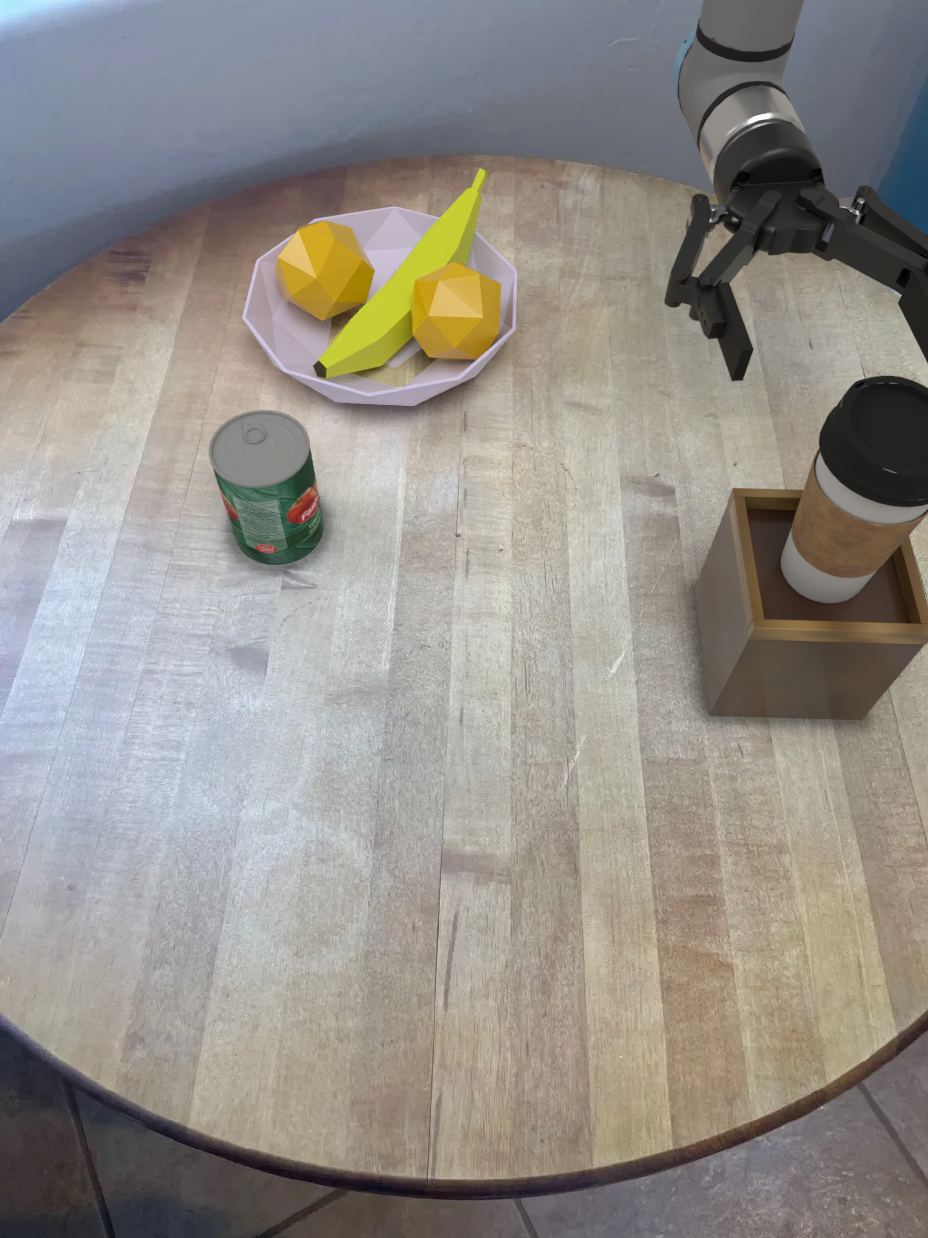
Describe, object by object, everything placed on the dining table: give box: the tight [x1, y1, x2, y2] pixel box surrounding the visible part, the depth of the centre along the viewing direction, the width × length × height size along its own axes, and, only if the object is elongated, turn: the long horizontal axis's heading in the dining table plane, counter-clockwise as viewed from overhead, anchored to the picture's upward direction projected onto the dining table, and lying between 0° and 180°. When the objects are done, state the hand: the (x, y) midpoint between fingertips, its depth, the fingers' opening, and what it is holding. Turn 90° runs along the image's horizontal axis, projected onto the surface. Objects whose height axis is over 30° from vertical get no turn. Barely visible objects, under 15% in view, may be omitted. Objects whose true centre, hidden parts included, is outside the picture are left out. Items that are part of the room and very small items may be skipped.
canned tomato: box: [208, 409, 326, 568], centre depth 80 cm, size 8×8×11 cm
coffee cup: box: [781, 375, 928, 603], centre depth 62 cm, size 8×8×15 cm
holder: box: [693, 487, 928, 721], centre depth 73 cm, size 12×12×14 cm
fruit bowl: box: [241, 167, 518, 407], centre depth 93 cm, size 28×27×11 cm
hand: (844, 359), depth 63 cm, fingers open, 13 cm apart
